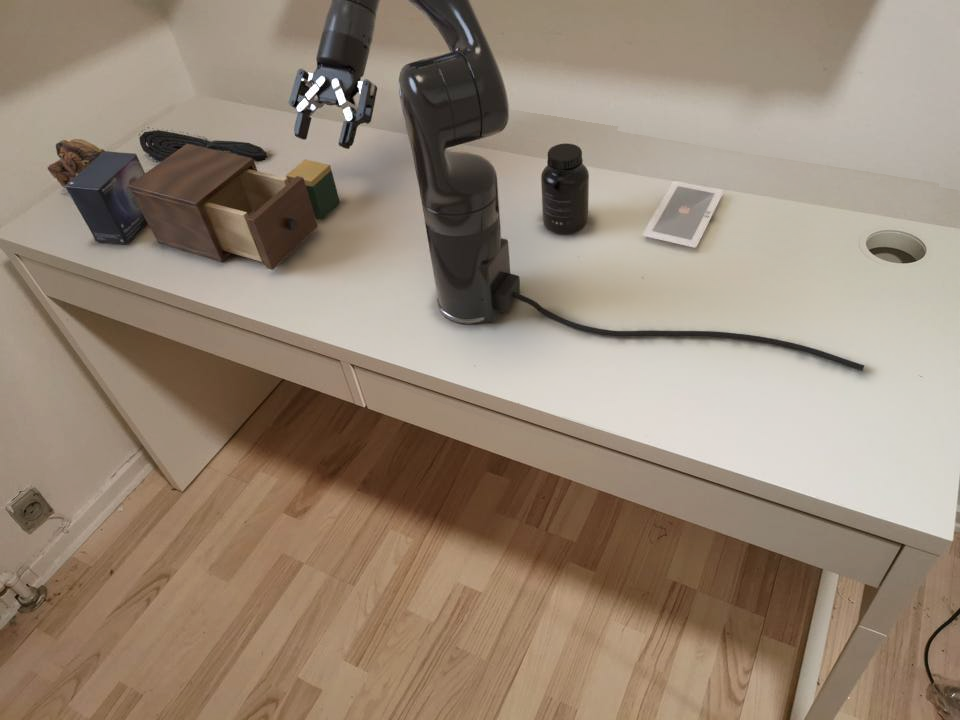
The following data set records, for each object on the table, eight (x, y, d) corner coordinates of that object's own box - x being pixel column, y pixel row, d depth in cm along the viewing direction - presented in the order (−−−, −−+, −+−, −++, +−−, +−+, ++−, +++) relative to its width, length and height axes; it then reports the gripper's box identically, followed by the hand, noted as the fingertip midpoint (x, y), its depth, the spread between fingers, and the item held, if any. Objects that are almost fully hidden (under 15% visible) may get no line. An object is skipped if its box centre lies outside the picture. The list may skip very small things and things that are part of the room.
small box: (129, 246, 111) (98, 189, 104) (94, 242, 113) (61, 186, 105) (164, 207, 118) (137, 151, 111) (131, 205, 120) (102, 149, 112)
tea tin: (340, 202, 115) (330, 164, 110) (322, 219, 112) (311, 181, 107) (315, 196, 117) (304, 159, 112) (297, 213, 114) (285, 175, 109)
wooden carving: (53, 197, 124) (21, 146, 116) (71, 183, 126) (41, 132, 119) (126, 210, 119) (98, 157, 112) (144, 195, 122) (117, 142, 114)
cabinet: (273, 216, 114) (253, 158, 106) (222, 262, 106) (195, 203, 99) (211, 200, 119) (187, 143, 111) (157, 243, 111) (127, 185, 104)
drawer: (324, 228, 109) (309, 178, 102) (279, 272, 102) (260, 222, 96) (256, 210, 114) (238, 162, 107) (208, 251, 107) (186, 202, 101)
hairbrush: (251, 156, 122) (126, 141, 127) (257, 174, 125) (134, 159, 130) (272, 132, 127) (152, 118, 132) (277, 150, 130) (159, 136, 135)
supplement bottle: (552, 206, 109) (551, 135, 101) (594, 214, 107) (597, 142, 98) (535, 231, 105) (533, 160, 96) (578, 240, 103) (580, 168, 94)
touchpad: (640, 241, 101) (642, 229, 100) (672, 186, 110) (674, 174, 108) (694, 254, 98) (696, 241, 97) (722, 196, 107) (725, 184, 106)
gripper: (295, 23, 108) (271, 128, 109) (372, 33, 103) (345, 143, 104) (323, 44, 115) (300, 142, 116) (397, 54, 110) (371, 157, 111)
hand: (321, 142), depth 110 cm, fingers open, 8 cm apart
